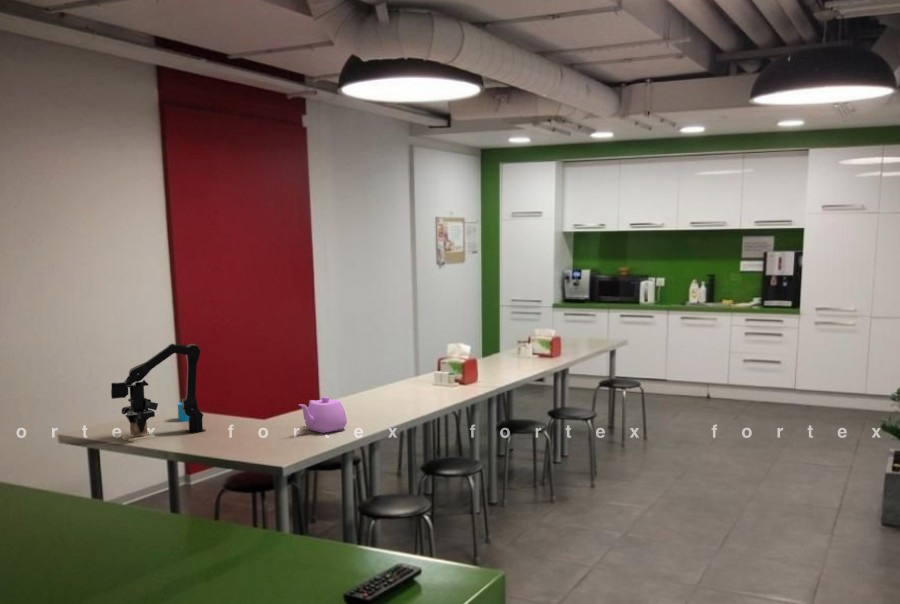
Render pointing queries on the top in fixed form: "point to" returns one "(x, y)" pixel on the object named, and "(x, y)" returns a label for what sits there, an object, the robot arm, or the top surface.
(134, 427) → the walnut cube
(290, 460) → the top surface
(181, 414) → the mug
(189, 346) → the robot arm
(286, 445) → the top surface
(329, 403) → the teapot
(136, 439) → the birch coaster
